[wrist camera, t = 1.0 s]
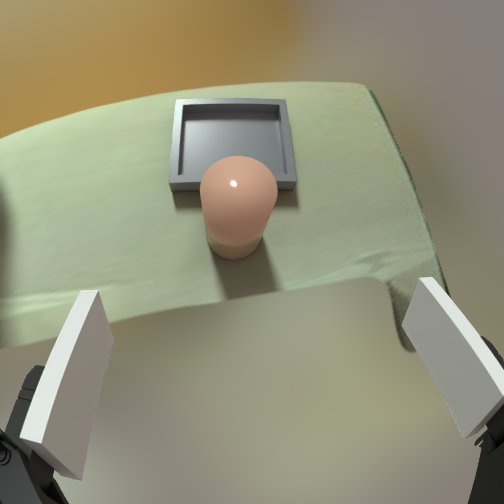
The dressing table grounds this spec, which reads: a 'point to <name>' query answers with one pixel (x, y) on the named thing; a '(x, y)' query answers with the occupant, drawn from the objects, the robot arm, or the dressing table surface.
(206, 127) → the tray
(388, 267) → the dressing table surface
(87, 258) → the dressing table surface
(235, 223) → the peach domed cylinder
